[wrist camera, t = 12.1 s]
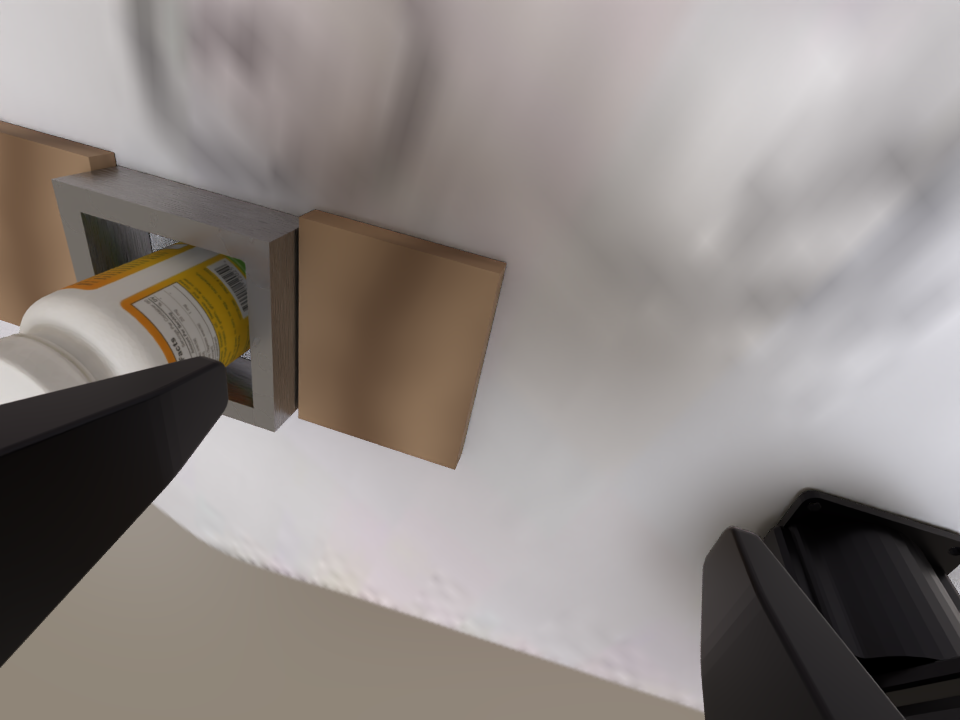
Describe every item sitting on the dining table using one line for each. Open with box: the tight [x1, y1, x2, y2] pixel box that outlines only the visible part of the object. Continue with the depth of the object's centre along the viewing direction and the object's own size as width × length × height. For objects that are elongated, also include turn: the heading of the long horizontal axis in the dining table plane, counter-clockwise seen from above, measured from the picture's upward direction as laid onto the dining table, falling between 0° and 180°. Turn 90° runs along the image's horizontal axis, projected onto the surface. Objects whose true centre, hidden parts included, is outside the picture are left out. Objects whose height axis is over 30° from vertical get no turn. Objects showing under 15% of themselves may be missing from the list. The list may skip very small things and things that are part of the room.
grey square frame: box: [51, 166, 299, 432], centre depth 22 cm, size 9×9×3 cm
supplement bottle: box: [0, 242, 250, 405], centre depth 20 cm, size 5×5×10 cm
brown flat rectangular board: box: [0, 121, 507, 470], centre depth 23 cm, size 25×10×1 cm, turn 78°
